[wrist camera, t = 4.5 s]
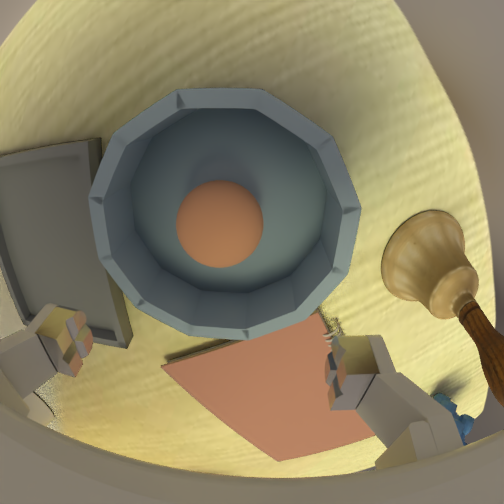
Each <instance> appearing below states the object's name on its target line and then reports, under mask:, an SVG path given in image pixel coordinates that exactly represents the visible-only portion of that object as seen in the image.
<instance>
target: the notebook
mask: <svg viewBox="0 0 504 504" xmlns="http://www.w3.org/2000/svg"><path fill="white" fill-rule="evenodd" d="M335 322H337V327H336V329H335V330H334V331H333V332H332V333H330V331H329V329H328V327H327V325H326V323H325V321H324V319H323V317H322V315H321V313H320V311H319V309H318V308H316V309H315V310H314V312H313V313H312V314H311V315H310V316H309V317H308V318H307V319H306V320H304V321H301V322H299V323H296V324H293V325H291V326H288V327H285V328H283V329H280V330H277V331H274V332H272V333H269V334H266V335H263V336H260V337H257V338H254V339H252V340H232V341H229V342H226V343H223V344H220V345H217V346H214V347H211V348H208V349H205V350H202V351H199V352H196V353H193V354H189V355H186V356H183V357H180V358H176V359H173V360H170V361H167V362H168V363H167V364H164V365H161V368H162V369H163V370H164V371H165V372H166V373H167V374H168V375H169V376H170V377H172V378H173V379H174V380H175V381H176V382H177V383H178V384H179V385H180V386H181V387H182V388H183V389H185V390H186V391H187V392H188V393H189V394H190V395H191V396H192V397H194V398H195V399H196V400H197V401H198V402H199V403H201V404H202V405H203V406H204V407H205V408H206V409H208V410H209V411H210V412H211V413H212V414H214V415H215V416H216V417H217V418H219V419H220V420H221V421H222V422H224V423H225V424H226V425H227V426H229V427H230V428H231V429H233V430H234V431H235V432H237V433H238V434H239V435H241V436H242V437H243V438H245V439H246V440H247V441H249V442H250V443H251V444H253V445H254V446H256V447H257V448H259V449H260V450H261V451H263V452H264V453H266V454H267V455H269V456H270V457H272V458H273V459H275V460H276V461H283V460H289V459H294V458H298V457H303V456H307V455H311V454H316V453H320V452H323V451H327V450H331V449H334V448H338V447H341V446H345V445H348V444H351V443H354V442H358V441H361V440H364V439H366V438H369V437H372V436H375V433H374V432H373V431H372V430H371V429H370V428H369V426H368V425H367V424H366V423H365V422H364V420H363V419H362V418H361V417H360V416H359V415H358V413H357V412H356V410H334V411H330V407H329V401H328V394H327V393H328V391H329V388H330V386H329V385H328V384H327V383H326V382H325V371H324V370H325V361H326V358H327V355H328V354H329V353H330V352H331V351H332V348H331V342H332V340H333V337H332V335H333V334H335V333H336V332H337V331H338V328H339V329H340V330H339V331H340V332H339V334H338V335H337V336H340V335H341V333H342V336H344V334H343V331H342V329H341V327H340V326H339V323H338V321H337V320H336V319H335Z"/></svg>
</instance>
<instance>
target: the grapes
mask: <svg viewBox="0 0 504 504" xmlns="http://www.w3.org/2000/svg"><path fill="white" fill-rule="evenodd" d="M433 399H434V400H436V401H437V402H438V403H440V404H441V405H442V406H443V407H445V408H446V409H447V410H448V411H450V412H451V413H452V416H453V418H454V421H455V424H456V426H457V429H458V432H459V434H460V437H461V440H462V443H463V445H464V446H466V445H468V444H467V443H465V442H464V441H465V439H464V438H465V435H467V434H468V433H469V432H470V431H471V429H472V426H473V423H474V418H472V417H471V416H469V415H466V414H463V415H461V416H459V415H457V413H456V408H457V405H456V404H454V403H453V402H451V401H450V399H451V398H449V397H448V396H446V395H444V394H442V393H439V394H436V395H435V396H434V397H433Z"/></svg>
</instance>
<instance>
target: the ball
mask: <svg viewBox="0 0 504 504" xmlns="http://www.w3.org/2000/svg"><path fill="white" fill-rule="evenodd" d="M263 226H264V221H263V214H262V211H261V208H260V205H259V203H258V202H257V200H256V198H255V197H254V196H253V195H252V194H251V193H250V192H249V191H248V190H247V189H246V188H244V187H243V186H241V185H239V184H237V183H234V182H231V181H226V180H215V181H209V182H206V183H203V184H201V185H199V186H197V187H196V188H194V189H193V190H192V191H191V192H189V193H188V195H187V196H186V197H185V198H184V200H183V201H182V203H181V205H180V207H179V209H178V213H177V218H176V230H177V235H178V239H179V241H180V243H181V245H182V247H183V249H184V250H185V251H186V253H187V254H188V255H189V256H190V257H192V258H193V259H194V260H196V261H197V262H199V263H201V264H203V265H206V266H209V267H215V268H224V267H230V266H233V265H236V264H238V263H240V262H242V261H244V260H245V259H246V258H248V257H249V256H250V255H251V254H252V253H253V252H254V250H255V249H256V247H257V246H258V244H259V242H260V240H261V237H262V233H263Z"/></svg>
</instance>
